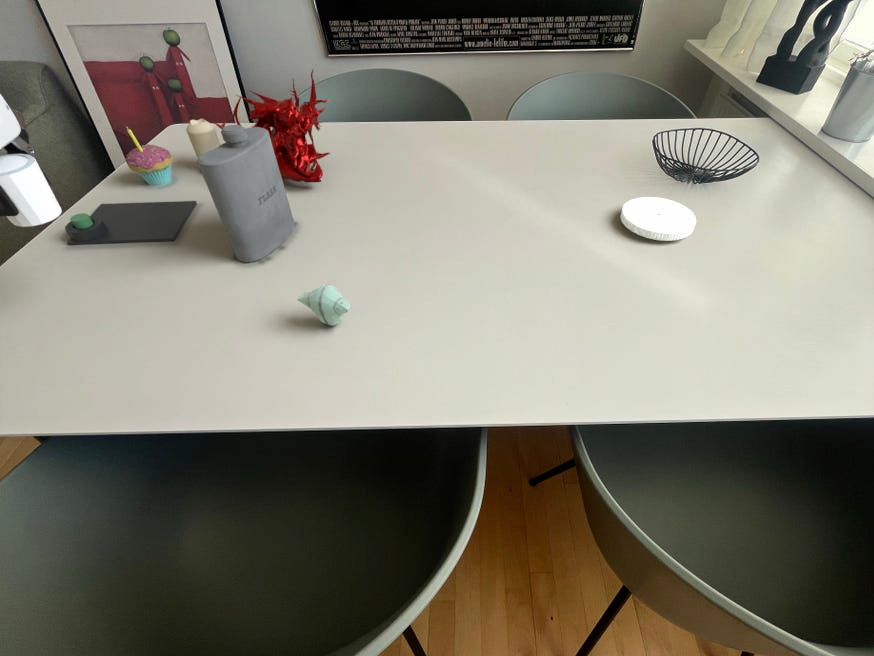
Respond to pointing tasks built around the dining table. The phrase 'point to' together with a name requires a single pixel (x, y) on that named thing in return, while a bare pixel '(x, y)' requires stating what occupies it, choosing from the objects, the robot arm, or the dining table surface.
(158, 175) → the cupcake
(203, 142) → the candle
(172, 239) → the scale
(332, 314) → the mint green pointed part
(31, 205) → the shot glass
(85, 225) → the tare button
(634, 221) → the plastic lid
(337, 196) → the dining table surface
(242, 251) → the flask
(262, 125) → the sculptural form
